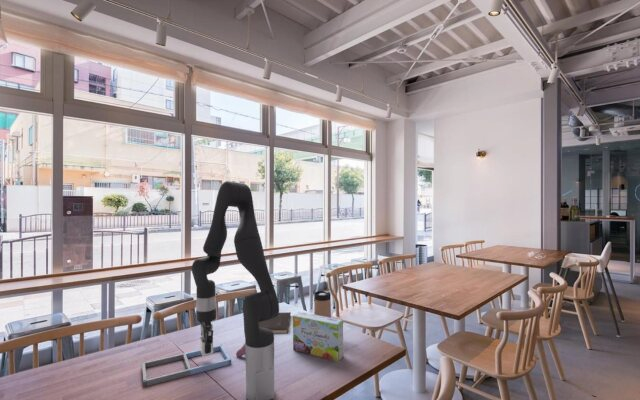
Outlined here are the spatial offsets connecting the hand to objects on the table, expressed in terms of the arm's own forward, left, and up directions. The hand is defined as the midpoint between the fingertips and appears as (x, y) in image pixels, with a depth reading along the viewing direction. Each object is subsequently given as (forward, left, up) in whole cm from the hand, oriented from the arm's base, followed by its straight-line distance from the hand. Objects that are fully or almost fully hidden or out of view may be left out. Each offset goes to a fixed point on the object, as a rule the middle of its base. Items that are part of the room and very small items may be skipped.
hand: (206, 350), depth 132 cm
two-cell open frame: (0, +7, -4) cm, 8 cm away
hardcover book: (+22, -37, -5) cm, 43 cm away
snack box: (-17, -41, -4) cm, 44 cm away
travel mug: (-4, -51, -4) cm, 51 cm away
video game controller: (-1, -16, -4) cm, 17 cm away
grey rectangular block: (0, 0, -1) cm, 1 cm away
